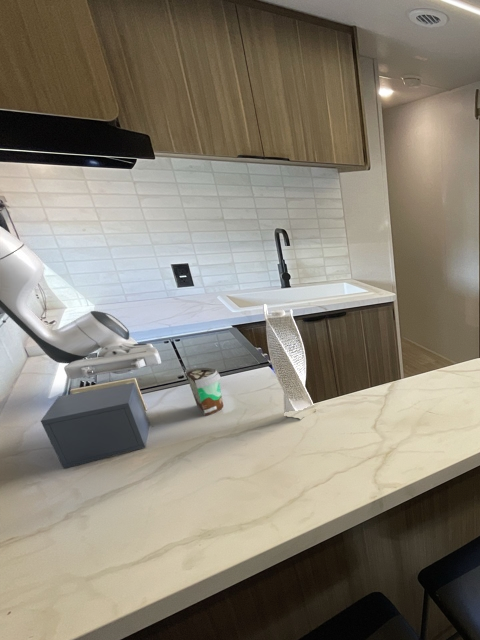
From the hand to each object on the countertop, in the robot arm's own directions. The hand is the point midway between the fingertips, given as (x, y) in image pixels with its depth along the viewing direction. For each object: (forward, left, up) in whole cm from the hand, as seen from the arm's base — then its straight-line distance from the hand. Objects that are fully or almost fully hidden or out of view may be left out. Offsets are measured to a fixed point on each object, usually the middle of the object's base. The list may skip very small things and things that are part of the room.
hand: (112, 370), depth 110 cm
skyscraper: (+37, -43, -9) cm, 58 cm away
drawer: (0, -21, -8) cm, 22 cm away
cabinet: (0, -32, -9) cm, 33 cm away
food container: (+20, -24, -9) cm, 32 cm away
